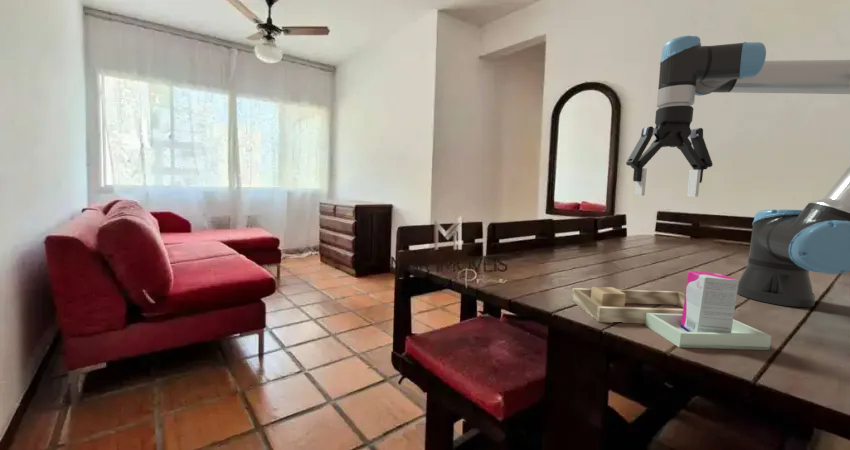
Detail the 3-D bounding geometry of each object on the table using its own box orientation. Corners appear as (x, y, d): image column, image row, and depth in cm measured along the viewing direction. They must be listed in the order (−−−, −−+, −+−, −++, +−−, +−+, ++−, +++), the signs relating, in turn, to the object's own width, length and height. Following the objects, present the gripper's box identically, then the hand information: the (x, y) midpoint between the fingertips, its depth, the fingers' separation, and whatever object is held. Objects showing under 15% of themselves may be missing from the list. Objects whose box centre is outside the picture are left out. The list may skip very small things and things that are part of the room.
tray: (723, 327, 75) (725, 315, 75) (769, 350, 65) (771, 335, 65) (645, 325, 75) (646, 312, 74) (679, 347, 65) (680, 333, 65)
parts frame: (677, 303, 90) (679, 291, 90) (724, 325, 76) (726, 311, 76) (571, 300, 90) (572, 288, 89) (598, 322, 76) (599, 307, 75)
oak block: (611, 308, 85) (613, 287, 84) (623, 316, 80) (625, 294, 79) (589, 308, 85) (591, 286, 84) (600, 316, 80) (602, 293, 79)
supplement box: (731, 341, 67) (740, 279, 65) (695, 338, 67) (703, 277, 66) (712, 329, 72) (720, 272, 71) (679, 326, 73) (686, 269, 72)
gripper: (711, 112, 93) (702, 196, 96) (615, 108, 92) (608, 194, 94) (737, 106, 86) (727, 197, 88) (634, 102, 84) (626, 195, 87)
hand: (666, 196), depth 91 cm, fingers open, 13 cm apart
